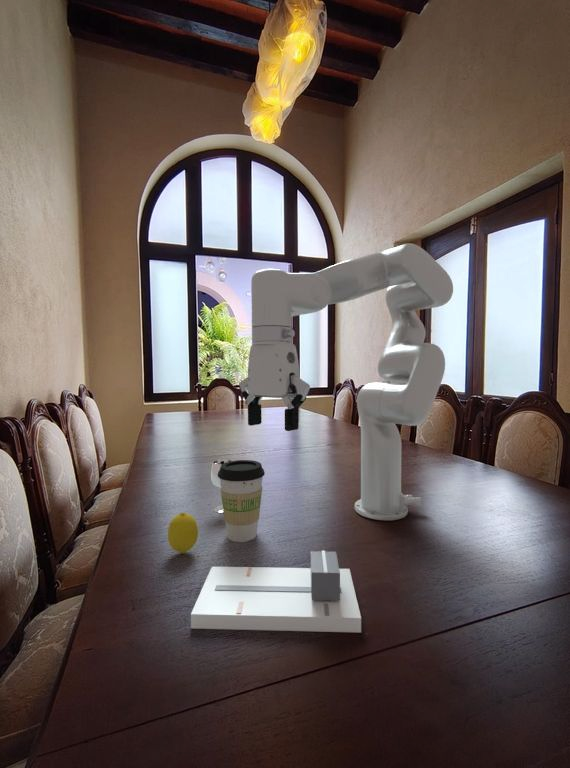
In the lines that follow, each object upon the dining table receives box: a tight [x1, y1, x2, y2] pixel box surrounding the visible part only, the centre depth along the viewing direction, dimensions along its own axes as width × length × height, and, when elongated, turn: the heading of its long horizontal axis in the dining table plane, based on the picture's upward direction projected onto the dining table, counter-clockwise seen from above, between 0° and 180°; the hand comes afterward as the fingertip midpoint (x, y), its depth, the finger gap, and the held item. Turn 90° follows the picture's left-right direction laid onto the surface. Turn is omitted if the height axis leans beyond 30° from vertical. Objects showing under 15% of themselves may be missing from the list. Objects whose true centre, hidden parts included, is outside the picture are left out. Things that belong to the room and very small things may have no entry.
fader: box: [310, 550, 340, 600], centre depth 55 cm, size 4×6×4 cm, turn 178°
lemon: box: [167, 511, 199, 555], centre depth 70 cm, size 6×6×8 cm
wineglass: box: [210, 459, 232, 514], centre depth 92 cm, size 6×6×12 cm
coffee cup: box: [218, 459, 265, 543], centre depth 78 cm, size 10×10×15 cm
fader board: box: [190, 566, 362, 633], centre depth 56 cm, size 23×12×2 cm, turn 88°
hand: (272, 427), depth 71 cm, fingers open, 9 cm apart
